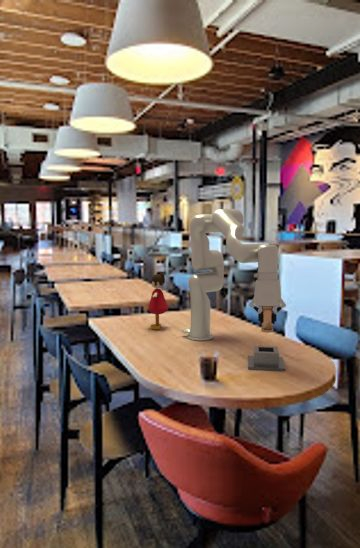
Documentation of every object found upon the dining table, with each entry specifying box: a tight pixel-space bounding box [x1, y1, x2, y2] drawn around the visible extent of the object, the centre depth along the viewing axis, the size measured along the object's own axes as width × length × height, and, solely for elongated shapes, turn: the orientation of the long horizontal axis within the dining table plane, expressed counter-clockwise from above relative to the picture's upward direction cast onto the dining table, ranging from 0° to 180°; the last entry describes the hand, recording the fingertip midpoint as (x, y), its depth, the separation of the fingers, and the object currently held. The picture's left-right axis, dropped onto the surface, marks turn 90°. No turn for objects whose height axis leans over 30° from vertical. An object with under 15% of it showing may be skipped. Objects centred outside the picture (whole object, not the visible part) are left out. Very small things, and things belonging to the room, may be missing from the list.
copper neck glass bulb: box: [260, 307, 274, 333], centre depth 165 cm, size 5×5×10 cm
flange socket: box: [247, 345, 286, 372], centre depth 167 cm, size 14×14×6 cm
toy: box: [147, 272, 169, 330], centre depth 222 cm, size 27×11×30 cm, turn 178°
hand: (267, 322), depth 165 cm, fingers closed on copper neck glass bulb, 4 cm apart
